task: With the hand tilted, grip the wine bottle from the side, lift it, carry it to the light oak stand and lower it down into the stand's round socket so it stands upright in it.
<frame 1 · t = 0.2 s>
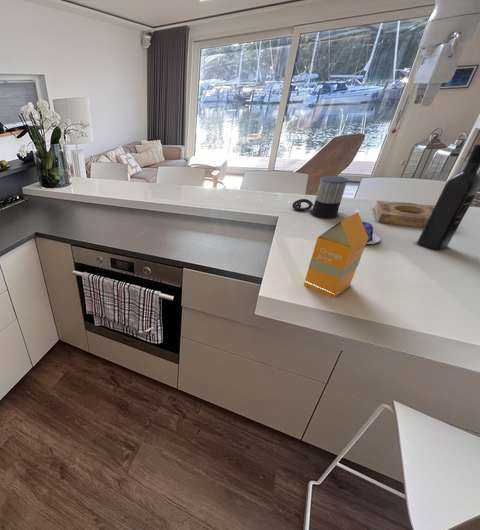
hand: (420, 104, 72), 41 cm above the countertop, tool pointing down, fingers open, 8 cm apart
milk frother: (313, 212, 122), on the countertop
pudding: (356, 238, 99), on the countertop
orange juice: (326, 286, 78), on the countertop
bottle stand: (406, 218, 109), on the countertop
wine bottle: (431, 246, 91), on the countertop
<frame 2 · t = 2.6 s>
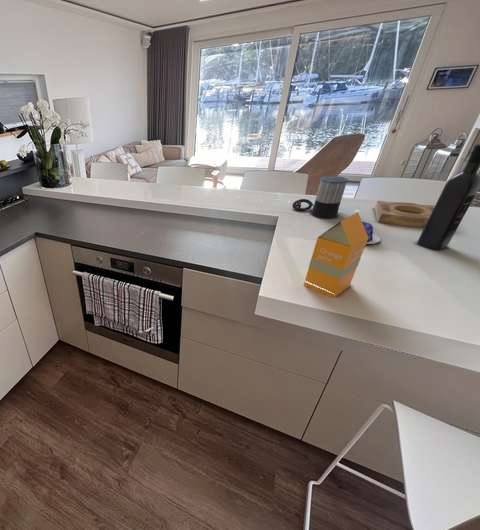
nothing on the countertop moved.
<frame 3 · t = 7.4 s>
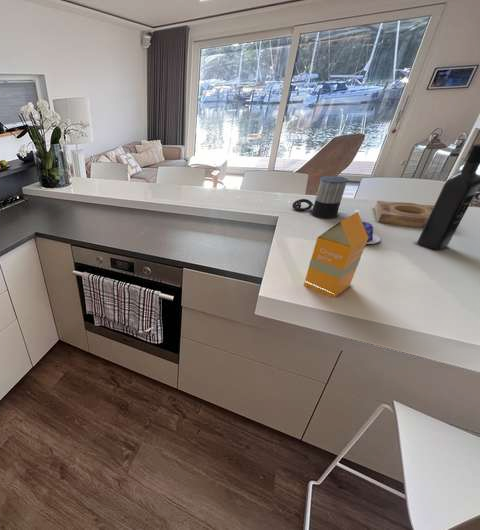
hand: (464, 193, 82), 17 cm above the countertop, tool tilted 45°, fingers open, 8 cm apart
wine bottle: (431, 245, 91), on the countertop, touching gripper
everything else where it was.
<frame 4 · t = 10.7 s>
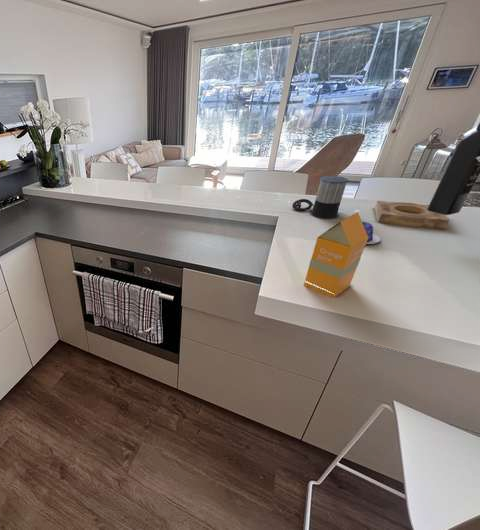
hand: (466, 157, 80), 26 cm above the countertop, tool tilted 45°, fingers closed on wine bottle, 7 cm apart
wine bottle: (442, 212, 88), point 10 cm above the countertop, touching gripper
everything else where it was.
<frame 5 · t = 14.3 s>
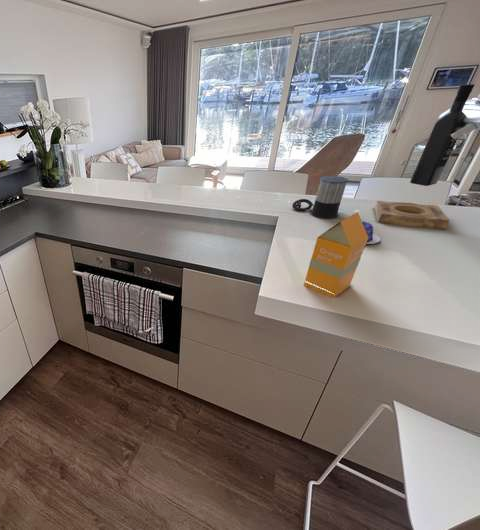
hand: (442, 135, 94), 29 cm above the countertop, tool tilted 45°, fingers closed on wine bottle, 7 cm apart
wine bottle: (422, 184, 102), point 13 cm above the countertop, touching gripper
everything else where it was.
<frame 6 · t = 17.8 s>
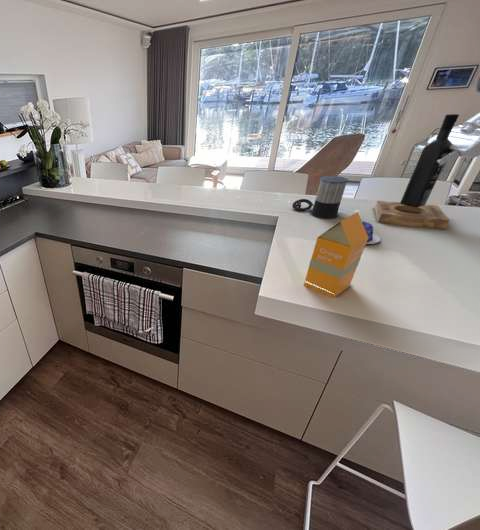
hand: (429, 160, 99), 21 cm above the countertop, tool tilted 45°, fingers closed on wine bottle, 7 cm apart
wine bottle: (411, 205, 107), point 5 cm above the countertop, touching gripper
everything else where it was.
when the fingers open (16 cm above the countertop, at t = 20.7 s): wine bottle stays where it is, resting in bottle stand.
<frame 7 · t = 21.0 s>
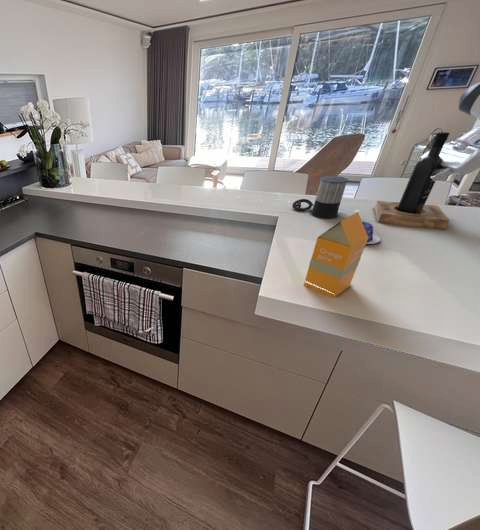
hand: (422, 176, 102), 16 cm above the countertop, tool tilted 45°, fingers open, 8 cm apart
wine bottle: (405, 218, 110), resting in bottle stand
everything else where it was.
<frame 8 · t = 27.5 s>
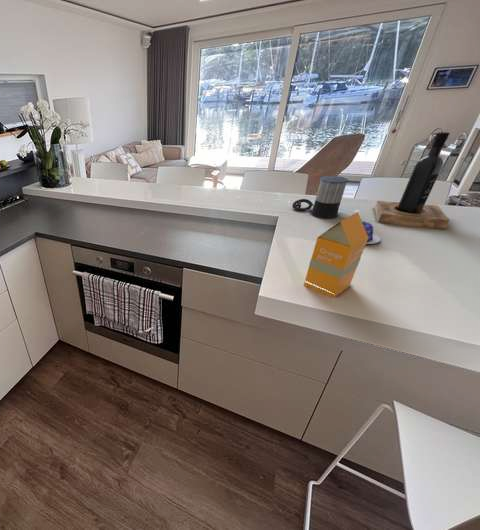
nothing on the countertop moved.
at the end: wine bottle 0.3 cm off-centre in the bottle stand, point 0.0 cm above the bottle stand's base; wine bottle tilted 0°; the gripper is holding nothing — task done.
